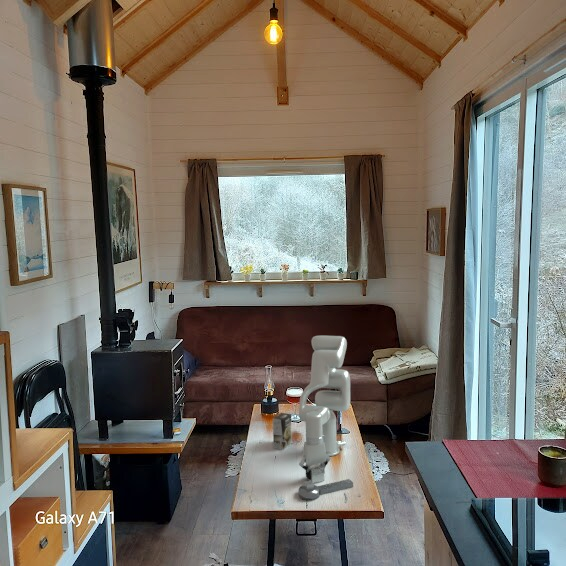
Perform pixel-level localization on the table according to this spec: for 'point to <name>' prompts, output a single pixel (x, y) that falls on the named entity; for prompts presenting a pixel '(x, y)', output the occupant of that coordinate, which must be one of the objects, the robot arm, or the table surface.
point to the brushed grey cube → (316, 473)
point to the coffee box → (282, 431)
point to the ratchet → (321, 489)
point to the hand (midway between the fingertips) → (315, 476)
